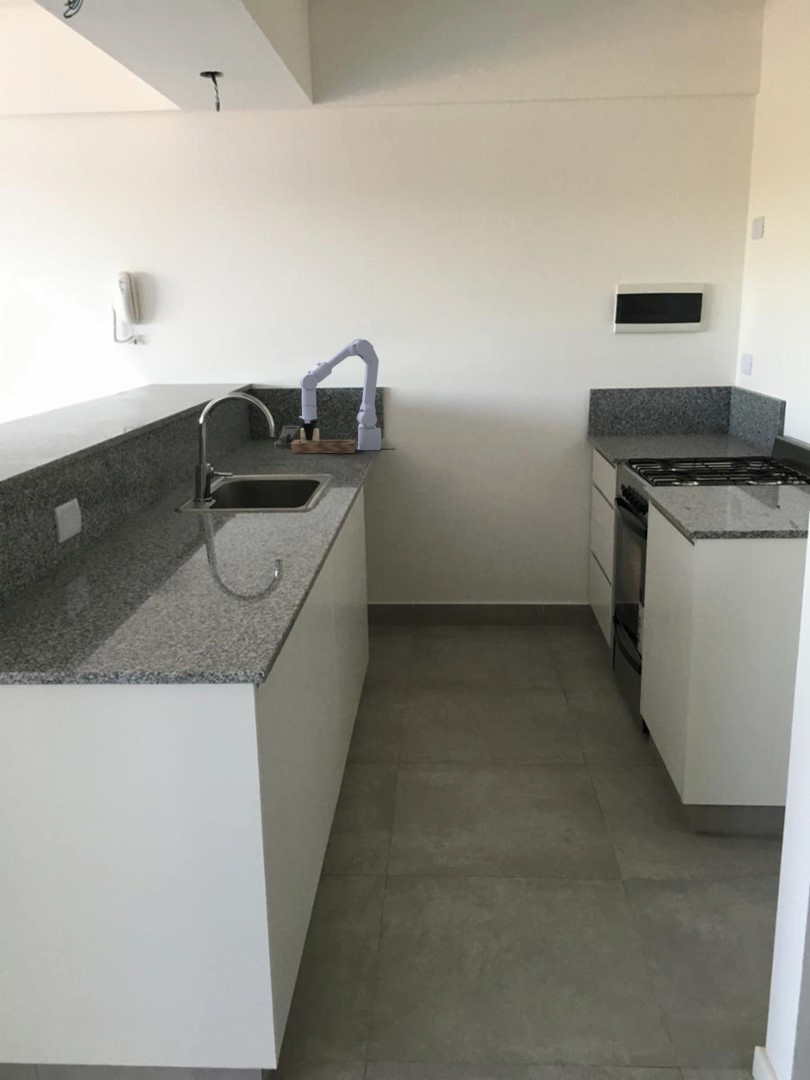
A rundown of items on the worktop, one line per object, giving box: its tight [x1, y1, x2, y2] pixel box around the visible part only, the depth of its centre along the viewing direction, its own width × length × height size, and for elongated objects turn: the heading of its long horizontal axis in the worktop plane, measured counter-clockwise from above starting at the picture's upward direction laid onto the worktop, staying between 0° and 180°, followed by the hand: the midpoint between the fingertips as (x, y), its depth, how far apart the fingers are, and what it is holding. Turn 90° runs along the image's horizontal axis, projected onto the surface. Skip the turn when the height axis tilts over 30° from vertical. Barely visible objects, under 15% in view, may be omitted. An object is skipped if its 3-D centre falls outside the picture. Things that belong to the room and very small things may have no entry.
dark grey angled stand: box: [273, 425, 302, 449], centre depth 386 cm, size 9×7×25 cm
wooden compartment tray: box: [290, 439, 357, 454], centre depth 366 cm, size 25×10×4 cm, turn 89°
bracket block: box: [299, 427, 320, 443], centre depth 365 cm, size 7×4×8 cm, turn 89°
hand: (309, 439), depth 365 cm, fingers closed on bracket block, 4 cm apart
